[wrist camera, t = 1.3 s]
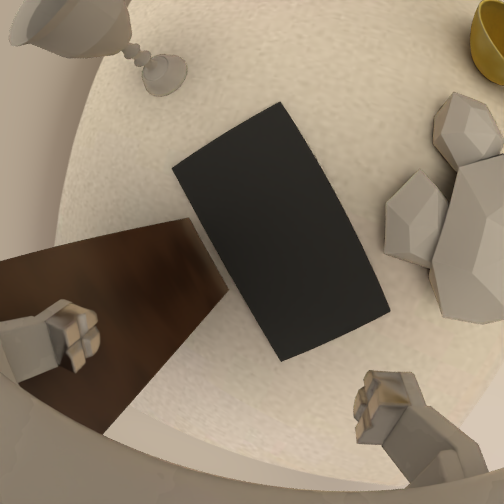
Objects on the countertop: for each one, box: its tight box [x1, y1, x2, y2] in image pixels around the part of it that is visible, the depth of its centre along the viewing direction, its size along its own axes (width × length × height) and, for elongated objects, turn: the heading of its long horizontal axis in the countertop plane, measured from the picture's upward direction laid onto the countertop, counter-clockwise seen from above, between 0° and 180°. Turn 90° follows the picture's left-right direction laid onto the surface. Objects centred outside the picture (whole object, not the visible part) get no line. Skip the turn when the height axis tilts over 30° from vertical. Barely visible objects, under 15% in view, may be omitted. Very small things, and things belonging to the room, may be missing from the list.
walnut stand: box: [0, 218, 229, 435], centre depth 17 cm, size 8×12×26 cm, turn 119°
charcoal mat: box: [172, 102, 390, 362], centre depth 27 cm, size 22×12×1 cm, turn 29°
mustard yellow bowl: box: [470, 0, 504, 86], centre depth 15 cm, size 10×10×7 cm
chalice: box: [9, 0, 187, 96], centre depth 17 cm, size 7×7×18 cm
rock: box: [384, 92, 504, 324], centre depth 18 cm, size 18×20×10 cm
